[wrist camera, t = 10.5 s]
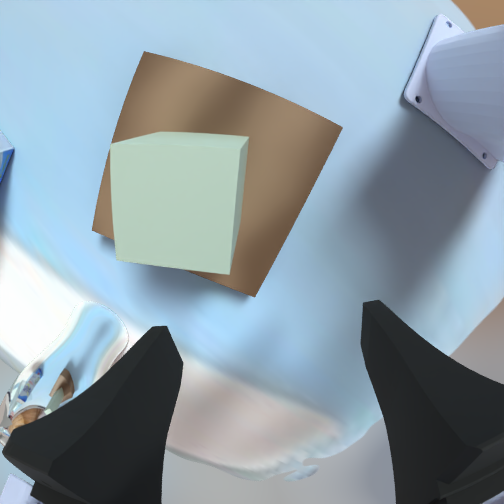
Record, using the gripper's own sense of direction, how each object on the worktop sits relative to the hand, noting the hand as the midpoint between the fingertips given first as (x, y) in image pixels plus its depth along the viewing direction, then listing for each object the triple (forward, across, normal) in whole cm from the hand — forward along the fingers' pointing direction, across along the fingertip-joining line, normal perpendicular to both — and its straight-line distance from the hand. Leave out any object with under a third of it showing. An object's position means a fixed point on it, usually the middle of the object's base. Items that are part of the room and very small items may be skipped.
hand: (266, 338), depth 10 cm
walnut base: (+10, +3, -4) cm, 12 cm away
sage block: (+8, +3, -4) cm, 10 cm away
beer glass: (+11, +17, +7) cm, 21 cm away
